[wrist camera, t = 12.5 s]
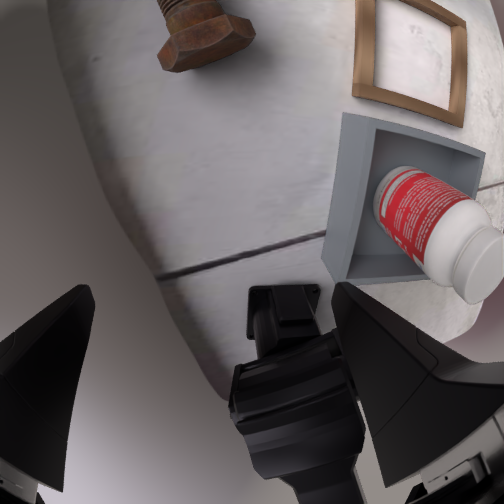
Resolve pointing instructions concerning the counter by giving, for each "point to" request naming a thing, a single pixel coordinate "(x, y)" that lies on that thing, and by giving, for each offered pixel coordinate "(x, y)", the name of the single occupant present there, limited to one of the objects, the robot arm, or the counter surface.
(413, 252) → the pill bottle
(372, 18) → the wooden frame
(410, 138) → the bin
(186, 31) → the bolt
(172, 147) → the counter surface
